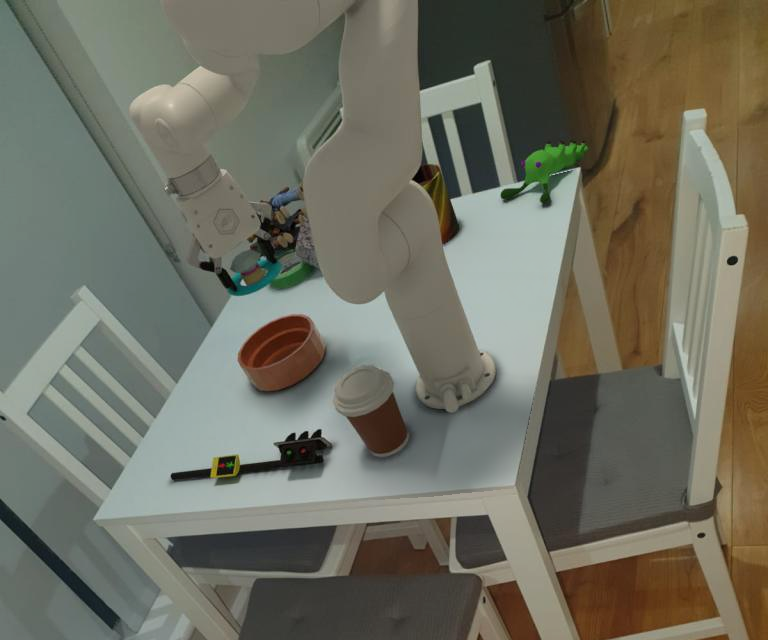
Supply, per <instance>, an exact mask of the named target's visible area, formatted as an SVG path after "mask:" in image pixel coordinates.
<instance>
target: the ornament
mask: <svg viewBox="0 0 768 640" xmlns="http://www.w3.org/2000/svg"><path fill="white" fill-rule="evenodd" d="M260 256H261V254H260V253H258V252H256V251H253V250H250V249H247V250H243V251H240V252H239V253H238V254H236V255H235V256H234V258H233V259H232V261H231V264H230V267H229V270H230V271H231V272H233V273H234V275H233V276H232V277H231V279H232V280H233V282H234V284H235V285H236V287H237V291H236V292H234V291H232V290H231V289H229V288H228V289H226V291H227V293H228V294H229V295H231V296H232V297H233V296H235V297H243V296H248V295H251V294H254V293H257V292H259V291H260V290H262V289H265V288H266V287H267V286H268V285H271V284H270V283H271V282H272V281H273V280H274V279H275V278H276V277H277V276H278V274H279V273H280V271H281V263H280V261H278V260H277V262H276V263H272V262H270V261H268V260H267V259H266V258H264V259H261V258H260ZM259 258H260V260H259ZM258 260H259V261H258ZM266 269H267V274H266V273H265V271H264V270H266ZM242 281H243V282H244V283H245V285H242V284H241V283H242Z"/></svg>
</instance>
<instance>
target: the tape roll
mask: <svg viewBox="0 0 768 640" xmlns="http://www.w3.org/2000/svg"><path fill="white" fill-rule="evenodd" d="M295 249H296V247H295V248H291V249H289V250H287V251H284V252H283V253H281V254H280V255H278V256H277V257H275V258H276V259H277V260H278V261H280V263H281V271H280V273H279V274H278V276H277V277H276V278H275V279H274V280H273V281H272V282H271V283H270V284H269V285H270V286H271V287H272V288H274V289H276V290H283V289H287V288H291V287H293V286H295V285H297V284H299V283H302V282H303V281H304V280H305V279H306V278H308V277H309V276H310V275H311V274H312V273H313V272H314V270H315V269H316V267H315V266H312V265H310V264H308V263H306V262H304V261H303V260H302V259H301V258H299V257H298V256H297V255H296V250H295ZM297 263H298V265H297V266H295V267H293V268H292V269H290V270H288V271H285V270H286V269H287V268H289V267H291V266H293V265H295V264H297ZM283 271H285V272H283ZM266 274H267V269H265V275H266Z"/></svg>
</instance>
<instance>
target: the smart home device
mask: <svg viewBox="0 0 768 640" xmlns="http://www.w3.org/2000/svg"><path fill="white" fill-rule="evenodd" d="M300 227H301V225H297V226H296V227H295V230H294V231H292V232H290V233H289V234H291V235H292V237H293V242H292V243H289V242H288V241H287V243H288V245H287V247H282V246H281V244H280V245H278V247H277V248H275V249H274V250H275V251H280V250H288V249H289V250H291V249H294V248H296V242H297V239H298V236H299V232H300ZM284 233H286V232H281V233H279V234H278V236H279V235H283V234H284ZM271 236H272V235H271V234H270V233H269V238H271ZM258 245H259V244H258V243H257V241H255V242H253V243H251V245H249V249H250V248H251V247H254V248H257V247H258Z"/></svg>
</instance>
